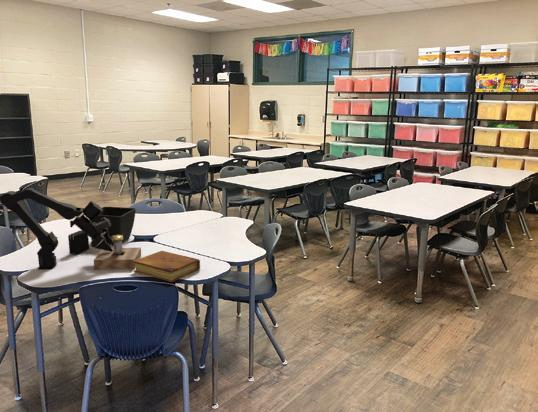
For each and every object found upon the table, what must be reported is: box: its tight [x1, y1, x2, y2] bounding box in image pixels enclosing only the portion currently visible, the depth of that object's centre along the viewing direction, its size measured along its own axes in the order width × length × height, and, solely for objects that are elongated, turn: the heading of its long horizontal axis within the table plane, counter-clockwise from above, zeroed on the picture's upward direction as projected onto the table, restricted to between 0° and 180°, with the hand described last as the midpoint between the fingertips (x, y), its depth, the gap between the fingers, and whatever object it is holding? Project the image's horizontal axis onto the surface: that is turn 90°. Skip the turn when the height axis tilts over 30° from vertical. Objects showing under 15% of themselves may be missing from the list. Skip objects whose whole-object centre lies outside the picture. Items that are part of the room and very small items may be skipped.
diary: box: [133, 250, 201, 283], centre depth 209 cm, size 23×19×6 cm
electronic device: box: [67, 229, 90, 256], centre depth 233 cm, size 4×10×10 cm, turn 164°
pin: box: [111, 235, 123, 256], centre depth 217 cm, size 5×5×13 cm
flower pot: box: [89, 206, 137, 243], centre depth 252 cm, size 19×19×17 cm
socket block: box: [93, 247, 142, 271], centre depth 218 cm, size 18×18×4 cm
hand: (113, 248), depth 217 cm, fingers open, 9 cm apart
